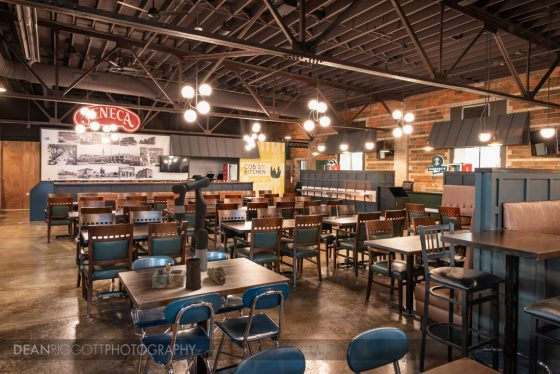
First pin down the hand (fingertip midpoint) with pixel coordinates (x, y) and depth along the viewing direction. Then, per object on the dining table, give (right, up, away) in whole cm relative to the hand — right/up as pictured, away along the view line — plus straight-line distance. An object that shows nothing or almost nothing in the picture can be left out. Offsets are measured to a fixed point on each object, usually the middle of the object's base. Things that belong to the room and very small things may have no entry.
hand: (179, 234), depth 268 cm
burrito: (+27, -34, -2) cm, 43 cm away
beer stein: (+15, -34, -23) cm, 44 cm away
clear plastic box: (-4, -33, -12) cm, 36 cm away
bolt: (-7, -25, -13) cm, 29 cm away
